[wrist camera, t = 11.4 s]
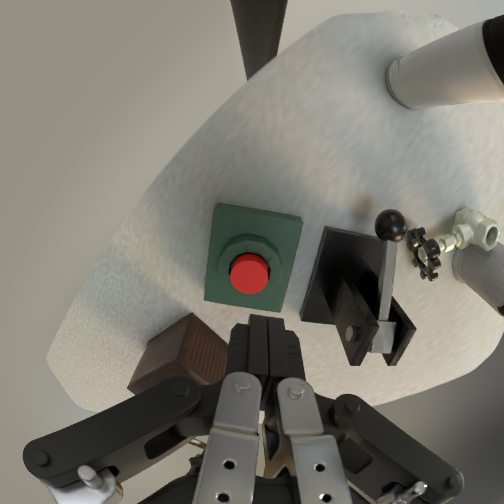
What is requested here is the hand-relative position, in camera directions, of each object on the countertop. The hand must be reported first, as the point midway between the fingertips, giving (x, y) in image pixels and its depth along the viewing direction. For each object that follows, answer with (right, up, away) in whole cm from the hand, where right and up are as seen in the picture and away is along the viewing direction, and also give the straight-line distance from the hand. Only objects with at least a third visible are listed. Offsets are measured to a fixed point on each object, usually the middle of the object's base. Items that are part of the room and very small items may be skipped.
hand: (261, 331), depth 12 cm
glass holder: (+35, +2, +19) cm, 39 cm away
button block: (-1, +3, +19) cm, 19 cm away
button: (-1, +2, +16) cm, 16 cm away
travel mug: (+17, +23, +11) cm, 31 cm away
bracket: (+11, 0, +20) cm, 23 cm away
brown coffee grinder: (-7, -13, +26) cm, 30 cm away
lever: (+12, +1, +12) cm, 17 cm away
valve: (+24, +7, +17) cm, 31 cm away
